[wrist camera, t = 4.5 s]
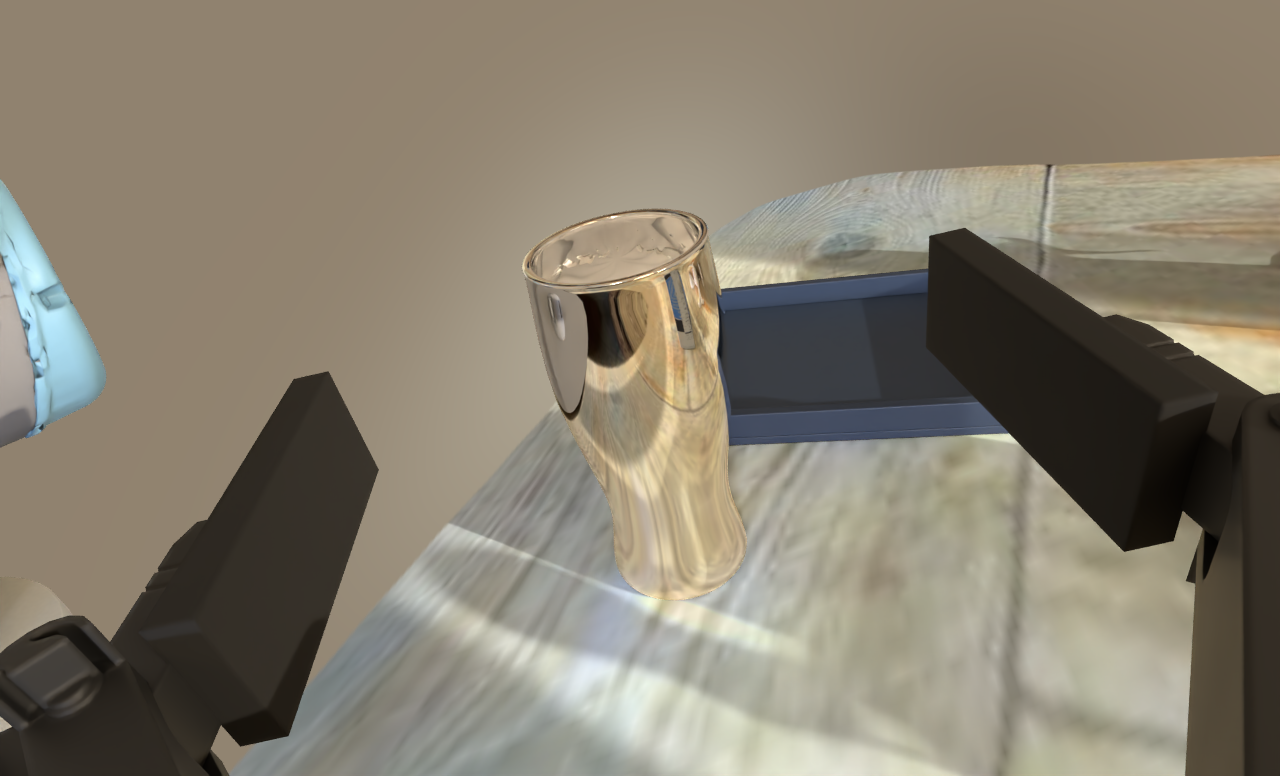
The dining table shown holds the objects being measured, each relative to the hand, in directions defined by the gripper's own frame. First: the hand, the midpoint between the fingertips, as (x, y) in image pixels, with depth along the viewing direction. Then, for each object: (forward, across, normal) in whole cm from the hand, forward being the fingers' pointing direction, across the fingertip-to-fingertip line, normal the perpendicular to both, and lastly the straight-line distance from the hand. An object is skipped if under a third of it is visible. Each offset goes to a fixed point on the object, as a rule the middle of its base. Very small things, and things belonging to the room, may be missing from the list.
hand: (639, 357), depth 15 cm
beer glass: (+10, 0, -16) cm, 19 cm away
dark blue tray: (+22, +12, -16) cm, 30 cm away
